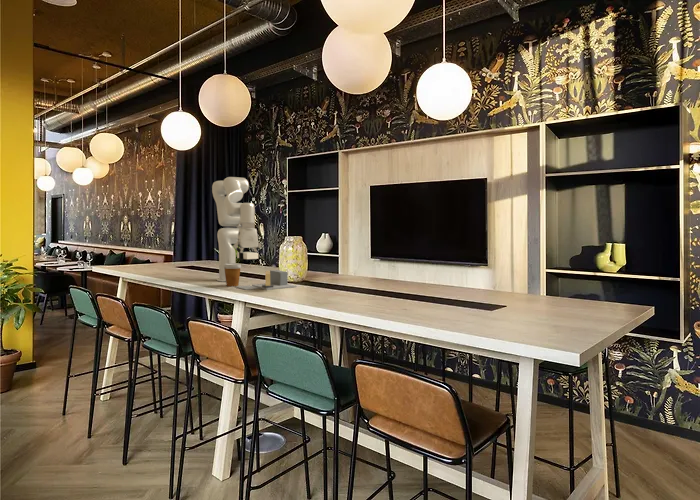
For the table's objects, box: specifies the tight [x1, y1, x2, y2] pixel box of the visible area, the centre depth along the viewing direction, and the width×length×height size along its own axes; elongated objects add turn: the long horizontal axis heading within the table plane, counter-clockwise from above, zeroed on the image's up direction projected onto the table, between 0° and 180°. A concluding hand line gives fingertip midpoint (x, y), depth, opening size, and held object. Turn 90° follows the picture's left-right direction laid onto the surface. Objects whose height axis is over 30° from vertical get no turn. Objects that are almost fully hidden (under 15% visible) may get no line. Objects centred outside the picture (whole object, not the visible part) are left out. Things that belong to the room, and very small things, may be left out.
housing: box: [251, 269, 297, 291], centre depth 253 cm, size 18×18×8 cm
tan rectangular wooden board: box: [264, 270, 270, 286], centre depth 242 cm, size 2×14×7 cm, turn 11°
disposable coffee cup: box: [224, 263, 242, 287], centre depth 255 cm, size 10×10×12 cm
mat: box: [234, 284, 261, 291], centre depth 248 cm, size 13×8×1 cm, turn 38°
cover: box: [236, 251, 259, 260], centre depth 246 cm, size 12×6×3 cm, turn 38°
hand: (247, 259), depth 247 cm, fingers closed on cover, 6 cm apart
